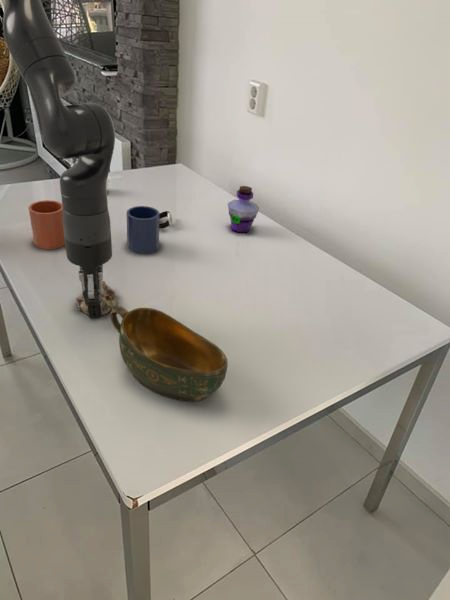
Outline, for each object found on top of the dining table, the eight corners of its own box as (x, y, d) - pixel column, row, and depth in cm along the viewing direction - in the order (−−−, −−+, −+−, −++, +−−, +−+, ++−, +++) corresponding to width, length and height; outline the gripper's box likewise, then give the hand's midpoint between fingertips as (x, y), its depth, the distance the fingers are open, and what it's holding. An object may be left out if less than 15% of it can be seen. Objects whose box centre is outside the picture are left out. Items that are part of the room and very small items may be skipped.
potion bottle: (222, 232, 122) (226, 190, 115) (227, 219, 129) (232, 179, 122) (253, 238, 121) (260, 195, 114) (257, 224, 128) (263, 184, 121)
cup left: (30, 248, 105) (24, 212, 100) (38, 233, 112) (33, 199, 107) (64, 250, 106) (59, 214, 101) (70, 235, 113) (66, 201, 107)
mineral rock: (117, 308, 86) (74, 298, 84) (111, 326, 88) (70, 316, 86) (123, 280, 95) (84, 269, 93) (118, 296, 97) (80, 286, 95)
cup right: (126, 253, 108) (125, 218, 103) (129, 238, 114) (128, 205, 109) (158, 254, 109) (158, 220, 104) (159, 239, 115) (160, 207, 110)
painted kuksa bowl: (172, 331, 86) (174, 286, 80) (230, 401, 73) (238, 354, 67) (107, 351, 79) (104, 305, 74) (158, 433, 66) (159, 384, 60)
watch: (170, 231, 119) (170, 219, 117) (152, 229, 119) (152, 217, 117) (173, 219, 126) (174, 207, 124) (156, 217, 126) (157, 205, 124)
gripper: (66, 216, 80) (75, 297, 89) (61, 251, 69) (72, 339, 79) (110, 216, 81) (114, 295, 91) (111, 250, 71) (116, 336, 80)
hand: (95, 316), depth 85 cm, fingers closed
